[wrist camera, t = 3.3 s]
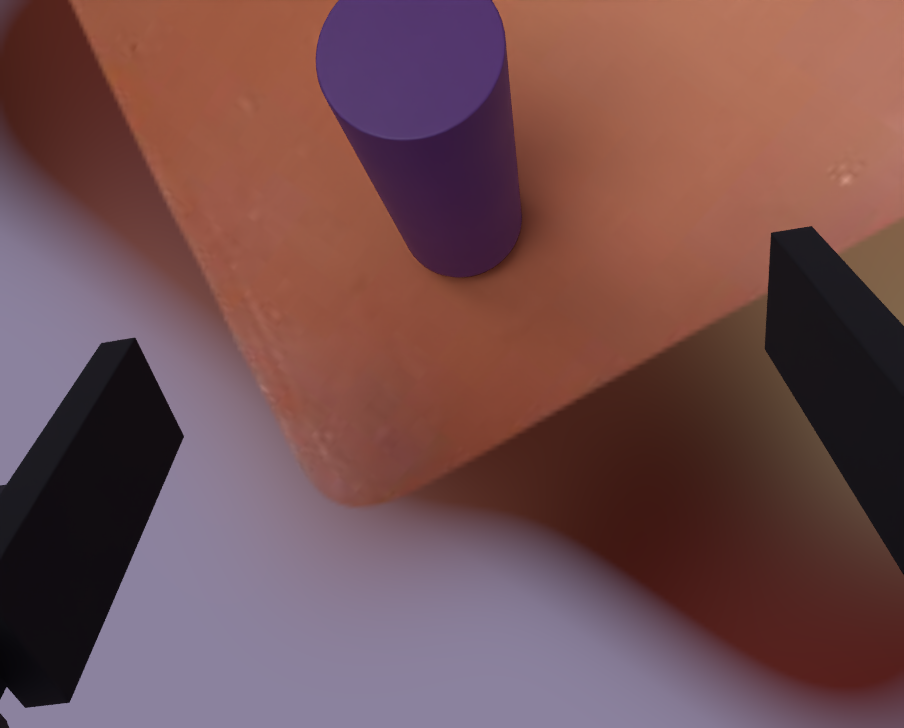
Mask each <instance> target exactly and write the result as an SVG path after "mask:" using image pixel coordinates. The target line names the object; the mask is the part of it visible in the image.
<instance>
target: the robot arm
mask: <svg viewBox="0 0 904 728" xmlns="http://www.w3.org/2000/svg"><path fill="white" fill-rule="evenodd" d="M766 319H767V320H766V337H765V350H766V352H767V353H768V355H769V357H770V358H771V360H772V361H773V363H774V365H775V366H776V368H777V369H778V371H779V373H780V374H781V376H782V377H783V379H784V381H785V383H786V384H787V386H788V387H789V389H790V391H791V392H792V394H793V396H794V397H795V399H796V400H797V402H798V403H799V405H800V407H801V408H802V410H803V412H804V413H805V415H806V417H807V418H808V420H809V421H810V423H811V425H812V426H813V428H814V430H815V431H816V433H817V435H818V436H819V438H820V439H821V441H822V442H823V444H824V446H825V448H826V449H827V451H828V452H829V454H830V456H831V457H832V459H833V461H834V462H835V464H836V465H837V467H838V469H839V470H840V472H841V474H842V475H843V477H844V478H845V480H846V482H847V483H848V485H849V487H850V488H851V490H852V491H853V493H854V495H855V496H856V497H857V500H858V501H859V503H860V505H861V506H862V508H863V509H864V511H865V513H866V514H867V516H868V518H869V519H870V521H871V522H872V524H873V526H874V527H875V529H876V531H877V532H878V534H879V535H880V537H881V539H882V540H883V542H884V544H885V545H886V547H887V548H888V550H889V552H890V553H891V555H892V557H893V558H894V560H895V561H896V563H897V565H898V566H899V568H900V570H901V571H902V573H903V574H904V326H903V325H902V324H901V323H900V322H899V320H898V319H897V318H896V317H895V316H894V315H893V314H892V313H891V312H890V311H889V310H888V308H887V307H886V306H885V305H884V304H883V303H882V302H881V301H880V300H879V299H878V298H877V297H876V296H875V294H873V292H872V291H871V290H870V289H869V288H868V287H867V286H866V285H865V284H864V282H863V281H861V279H860V278H859V277H858V276H857V275H856V274H855V273H854V272H853V271H852V269H851V268H850V267H849V266H848V265H847V264H846V263H845V262H844V261H843V260H842V259H841V258H840V256H839V255H838V254H837V253H836V252H835V251H834V250H833V249H832V248H831V247H830V246H829V245H828V243H827V242H826V241H825V240H824V239H823V238H822V237H821V236H820V235H819V234H818V233H817V232H816V230H815V229H814V228H813V227H812V226H810V227H804V228H798V229H792V230H785V231H779V232H773V233H771V245H770V264H769V282H768V300H767V318H766ZM183 438H184V436H183V433H182V431H181V429H180V427H179V426H178V423H177V421H176V420H175V417H174V415H173V413H172V411H171V409H170V407H169V405H168V403H167V401H166V399H165V397H164V395H163V393H162V391H161V389H160V387H159V385H158V383H157V381H156V379H155V377H154V375H153V373H152V371H151V369H150V366H149V364H148V363H147V361H146V359H145V356H144V354H143V352H142V350H141V348H140V346H139V344H138V342H137V340H136V338H130V339H124V340H118V341H112V342H106V343H101V344H100V346H99V347H98V349H97V350H96V352H95V353H94V355H93V356H92V358H91V359H90V361H89V362H88V364H87V365H86V367H85V368H84V370H83V371H82V373H81V374H80V376H79V377H78V379H77V380H76V382H75V383H74V385H73V386H72V388H71V389H70V391H69V392H68V394H67V395H66V397H65V398H64V400H63V401H62V403H61V404H60V406H59V407H58V409H57V410H56V411H55V413H54V414H53V416H52V418H51V419H50V420H49V422H48V424H47V425H46V427H45V428H44V429H43V431H42V432H41V434H40V435H39V437H38V438H37V440H36V442H35V443H34V444H33V446H32V448H31V449H30V450H29V452H28V454H27V455H26V456H25V458H24V459H23V461H22V462H21V464H20V465H19V467H18V468H17V470H16V471H15V473H14V474H13V476H12V477H11V479H10V481H9V482H8V483H7V485H1V486H0V699H1V697H2V695H3V693H4V690H5V689H6V687H8V689H9V690H10V691H11V692H12V693H13V694H14V695H15V697H16V698H17V699H18V700H19V701H20V702H21V704H22V705H23V706H24V707H25V708H27V707H36V706H44V705H53V704H61V703H69V702H70V700H71V698H72V696H73V693H74V691H75V688H76V686H77V684H78V681H79V679H80V677H81V675H82V672H83V670H84V668H85V665H86V663H87V661H88V658H89V655H90V654H91V651H92V649H93V647H94V644H95V642H96V640H97V638H98V635H99V633H100V630H101V628H102V626H103V624H104V621H105V619H106V617H107V614H108V612H109V610H110V607H111V605H112V603H113V600H114V598H115V595H116V593H117V591H118V589H119V586H120V584H121V582H122V579H123V577H124V575H125V572H126V570H127V568H128V565H129V563H130V561H131V558H132V556H133V554H134V551H135V549H136V547H137V544H138V542H139V540H140V538H141V535H142V533H143V531H144V528H145V526H146V523H147V521H148V519H149V516H150V514H151V512H152V510H153V507H154V505H155V503H156V500H157V498H158V496H159V493H160V491H161V489H162V486H163V484H164V482H165V479H166V477H167V475H168V472H169V470H170V468H171V465H172V463H173V461H174V458H175V456H176V454H177V451H178V449H179V447H180V444H181V442H182V440H183ZM0 728H9V726H8V724H7V721H6V719H5V718H4V717H3V716H2V715H1V714H0Z"/></svg>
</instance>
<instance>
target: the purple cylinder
mask: <svg viewBox="0 0 904 728" xmlns="http://www.w3.org/2000/svg"><path fill="white" fill-rule="evenodd" d="M316 71H317V76H318V81H319V84H320V87H321V90H322V92H323V94H324V96H325V98H326V100H327V102H328V104H329V106H330V107H331V109H332V111H333V113H334V115H335V116H336V118H337V120H338V122H339V124H340V125H341V127H342V129H343V131H344V133H345V134H346V136H347V138H348V140H349V142H350V143H351V145H352V147H353V149H354V151H355V152H356V154H357V156H358V158H359V160H360V161H361V163H362V165H363V167H364V169H365V170H366V172H367V174H368V176H369V178H370V179H371V181H372V183H373V185H374V187H375V188H376V190H377V192H378V194H379V196H380V197H381V199H382V201H383V203H384V205H385V207H386V208H387V210H388V212H389V214H390V216H391V217H392V219H393V221H394V223H395V225H396V226H397V228H398V230H399V232H400V234H401V235H402V237H403V239H404V241H405V243H406V244H407V246H408V248H409V250H410V251H411V253H412V254H413V256H414V257H415V258H416V259H417V260H418V261H419V262H420V263H421V264H422V265H424V266H425V267H426V268H428V269H430V270H431V271H434V272H436V273H438V274H441V275H445V276H450V277H469V276H474V275H478V274H481V273H483V272H486V271H488V270H490V269H491V268H493V267H495V266H496V265H497V264H499V263H500V262H501V261H502V260H503V259H504V258H505V257H506V256H507V255H508V254H509V253H510V251H511V250H512V248H513V247H514V245H515V243H516V241H517V239H518V236H519V233H520V229H521V222H522V213H521V203H520V192H519V181H518V170H517V159H516V148H515V137H514V127H513V116H512V105H511V94H510V83H509V72H508V62H507V51H506V40H505V31H504V27H503V23H502V20H501V17H500V15H499V12H498V10H497V8H496V7H495V5H494V3H493V2H492V0H339V1H338V2H337V3H336V4H335V6H334V7H333V9H332V10H331V12H330V13H329V15H328V17H327V19H326V21H325V22H324V25H323V27H322V30H321V33H320V36H319V40H318V44H317V51H316Z"/></svg>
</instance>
